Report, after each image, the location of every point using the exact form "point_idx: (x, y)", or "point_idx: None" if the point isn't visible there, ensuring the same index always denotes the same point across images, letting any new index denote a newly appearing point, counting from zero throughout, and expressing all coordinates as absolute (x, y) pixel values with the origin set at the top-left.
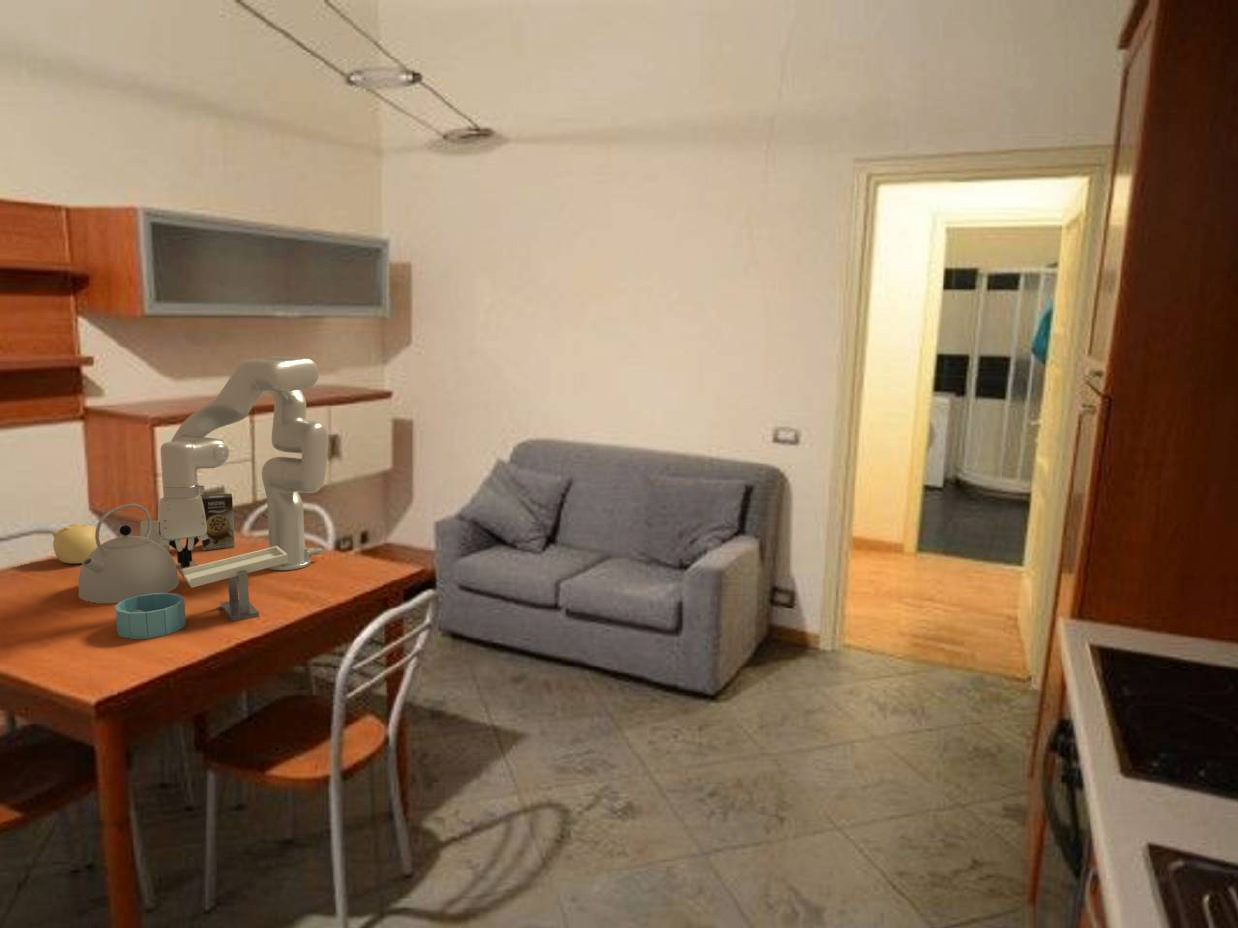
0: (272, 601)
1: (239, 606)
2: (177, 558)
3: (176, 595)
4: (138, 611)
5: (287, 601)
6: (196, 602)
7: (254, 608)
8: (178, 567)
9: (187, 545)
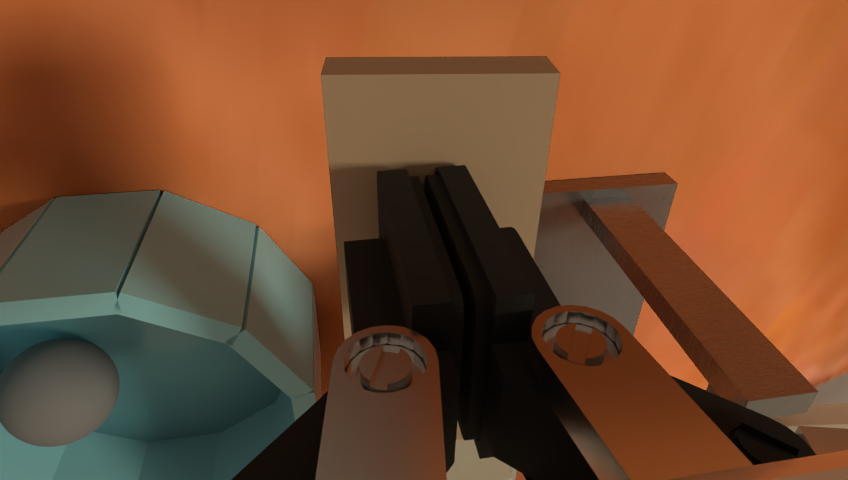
0: (756, 224)
1: (591, 291)
2: (346, 264)
3: (285, 388)
4: (60, 441)
5: (798, 254)
6: (433, 23)
7: None
8: (339, 248)
9: (539, 457)
